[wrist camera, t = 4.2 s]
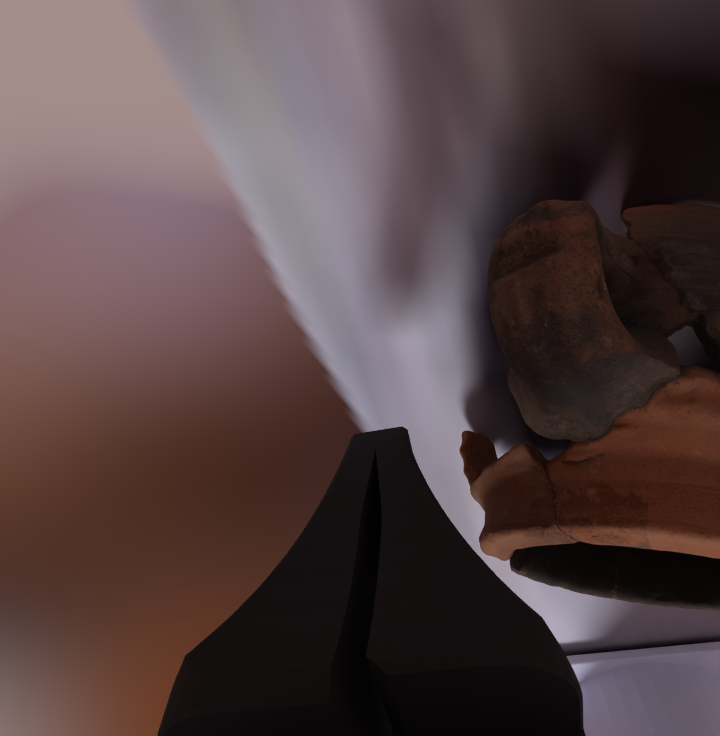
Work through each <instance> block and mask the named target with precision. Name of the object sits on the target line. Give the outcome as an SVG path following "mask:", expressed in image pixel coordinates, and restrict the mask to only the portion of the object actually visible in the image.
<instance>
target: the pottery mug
mask: <svg viewBox="0 0 720 736" xmlns="http://www.w3.org/2000/svg"><path fill="white" fill-rule="evenodd" d="M621 225H622V228H623V229H624V231H625V232H626V233H627V238H626V237H624V236H620V235H616V234H614V233H612V232H610V231H609V230H608V229H607V228H605V227H603V225H602V224H601V221H600V219H599V217H598V215H597V213H596V212H595V210H594V208H593V207H592V206H591V205H590V204H589V203H587V202H585V201H562V200H545V201H541V202H539V203H538V204H536V205H534V206H532V207H531V208H530V209H529V210H528V211H527V212H526V213H525V214H522V215H520V216H518V217H517V218H515V219H514V220H513V221H512V222H511V223H510V224H509V226H508V227H507V228H506V229H505V230H504V231H503V232H502V234H501V235H500V238H499V239H498V241H497V242H496V244H495V246H494V248H493V251H492V254H491V257H490V262H489V270H488V302H489V307H490V314H491V319H492V323H493V327H494V329H495V332H496V335H497V339H498V342H499V344H500V346H501V348H502V350H503V352H504V355H505V357H506V359H507V362H508V365H509V366H510V370H509V373H508V386H509V389H510V391H511V393H512V394H513V396H514V398H515V400H516V402H517V404H518V406H519V408H520V411H521V414H522V417H523V419H524V421H525V423H526V424H527V425H528V426H529V427H530V428H531V429H532V430H533V431H534V432H536V433H537V434H539V435H541V436H543V437H547V438H551V439H555V440H559V439H569V440H571V441H572V442H571V444H570V446H569V447H568V448H567V449H566V450H565V451H564V452H562V453H560V454H559V455H557V456H556V457H554V458H553V459H551V460H547V459H545V457H544V456H543V454H542V453H541V452H540V451H539V450H538V449H537V447H536V446H535V445H534V444H532V443H530V442H522V443H520V444H517V445H515V446H514V447H512V448H511V449H510V450H509V452H507V453H505V454H504V455H503V456H501V457H500V458H499V459H497V455H496V451H495V447H494V444H493V443H492V441H491V440H490V439H489V438H487V437H485V436H482V435H480V434H478V433H475V432H471V431H464V432H463V433H462V445H461V447H460V454H461V456H462V458H463V461H464V474H465V476H466V477H467V479H468V482H469V484H470V491H471V495H472V496H473V498H474V499H475V500H476V501H477V502H478V503H479V504H480V505H481V507H482V508H483V510H484V511H485V525H484V528H483V530H482V532H481V534H480V537H479V542H480V547H481V549H482V551H483V552H484V553H485V554H486V555H489V556H494V557H497V558H499V559H501V560H503V561H506V560H508V559H510V567H511V570H512V571H513V572H515V573H517V574H519V575H522V576H525V577H528V578H529V579H532V580H534V581H538V582H541V583H545V584H547V585H550V586H558V587H562V588H564V589H568V590H571V591H574V592H578V593H582V594H588V595H593V596H598V597H604V598H610V599H619V600H624V601H629V602H638V603H644V604H650V605H660V606H665V607H680V608H689V609H706V610H720V208H716V207H712V206H705V205H700V204H691V203H681V204H674V205H669V204H661V205H649V206H639V207H633V208H627V209H625V210H624V211H623V212H622V214H621ZM685 326H690V327H692V328H693V329H694V331H695V333H696V336H697V337H698V339H699V340H700V342H701V343H702V345H703V347H704V349H705V352H706V354H707V355H708V356H709V357H710V359H711V361H712V364H713V369H706V368H703V367H700V366H695V365H689V366H679V364H678V353H677V350H676V349H675V347H674V346H673V345H672V343H671V342H670V341H669V340H668V339H667V338H668V337H669V336H671V335H672V334H673V333H674V332H676V331H678V330H681V329H682V328H683V327H685Z"/></svg>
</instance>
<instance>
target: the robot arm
mask: <svg viewBox="0 0 720 736" xmlns="http://www.w3.org/2000/svg"><path fill="white" fill-rule="evenodd" d="M158 736H720V641H719V642H708V643H698V644H687V645H676V646H666V647H655V648H645V649H634V650H624V651H613V652H602V653H592V654H581V655H571V656H566V655H565V653H564V651H563V650H562V648H561V646H560V645H559V643H558V641H557V640H556V638H555V637H554V635H553V634H552V632H551V631H550V629H549V628H548V626H547V624H546V623H545V621H544V620H543V618H542V617H541V616H540V615H539V614H537V613H536V612H535V611H534V610H533V609H532V608H530V607H529V606H528V605H527V604H526V603H525V602H524V601H523V600H521V599H520V598H519V597H518V596H517V595H516V594H515V593H514V592H513V591H512V590H511V589H510V588H509V587H508V586H507V585H506V584H505V583H504V582H503V581H502V580H501V579H500V578H498V577H497V576H496V574H495V573H494V572H493V571H492V570H491V569H490V568H489V567H488V566H487V565H486V563H485V562H484V561H483V560H482V559H481V558H480V557H479V556H478V555H477V554H476V552H475V551H474V550H473V549H472V548H471V547H470V545H469V544H468V543H467V542H466V540H465V539H464V538H463V537H462V535H461V534H460V533H459V532H458V530H457V529H456V527H455V526H454V525H453V523H452V522H451V521H450V519H449V518H448V516H447V515H446V513H445V512H444V510H443V509H442V507H441V506H440V504H439V503H438V501H437V499H436V498H435V496H434V495H433V493H432V491H431V489H430V488H429V486H428V484H427V482H426V480H425V478H424V476H423V474H422V473H421V471H420V469H419V466H418V464H417V462H416V460H415V457H414V455H413V452H412V447H411V443H410V438H409V434H408V430H407V429H406V428H404V427H396V428H390V429H384V430H377V431H371V432H365V433H359V434H354V435H353V437H352V438H351V440H350V442H349V445H348V447H347V450H346V452H345V454H344V457H343V459H342V461H341V463H340V465H339V467H338V470H337V472H336V474H335V476H334V478H333V480H332V482H331V483H330V486H329V488H328V489H327V491H326V493H325V495H324V497H323V499H322V500H321V502H320V504H319V505H318V507H317V509H316V510H315V512H314V514H313V515H312V517H311V519H310V520H309V522H308V524H307V525H306V527H305V528H304V530H303V531H302V533H301V534H300V536H299V537H298V539H297V540H296V542H295V543H294V545H293V546H292V547H291V548H290V550H289V551H288V553H287V554H286V555H285V557H284V558H283V559H282V560H281V562H280V563H279V564H278V565H277V566H276V568H275V569H274V570H273V571H272V573H271V574H270V575H269V576H268V578H267V579H266V580H265V581H264V582H263V583H262V584H261V586H260V587H259V588H258V589H257V590H256V591H255V592H254V593H253V594H252V595H251V596H250V597H249V598H248V599H247V600H246V601H245V602H244V603H243V604H242V605H241V606H240V607H239V608H238V610H236V611H235V612H234V613H233V615H232V616H230V617H229V618H228V619H227V620H226V621H225V622H224V623H223V624H222V625H221V626H219V627H218V628H217V629H216V630H215V631H214V632H212V633H211V634H210V635H209V636H208V637H207V638H206V639H204V640H203V641H202V642H201V643H200V644H199V645H198V646H196V647H195V648H194V649H193V650H192V651H190V652H189V653H188V654H187V655H186V656H185V658H184V660H183V663H182V665H181V668H180V670H179V672H178V675H177V677H176V679H175V682H174V685H173V687H172V690H171V693H170V697H169V700H168V703H167V706H166V709H165V712H164V716H163V719H162V722H161V725H160V728H159V731H158Z"/></svg>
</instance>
